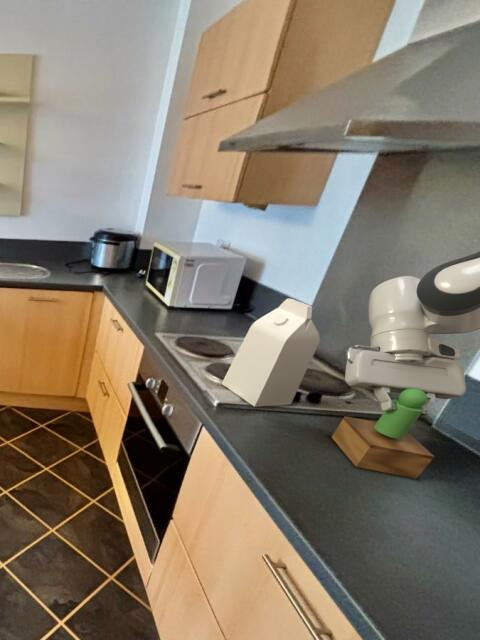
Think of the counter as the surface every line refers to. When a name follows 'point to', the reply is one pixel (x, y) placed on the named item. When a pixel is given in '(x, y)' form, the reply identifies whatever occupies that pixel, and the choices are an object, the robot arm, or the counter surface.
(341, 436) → the oak block
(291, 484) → the counter surface
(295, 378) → the milk
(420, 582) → the counter surface
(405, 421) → the toy
